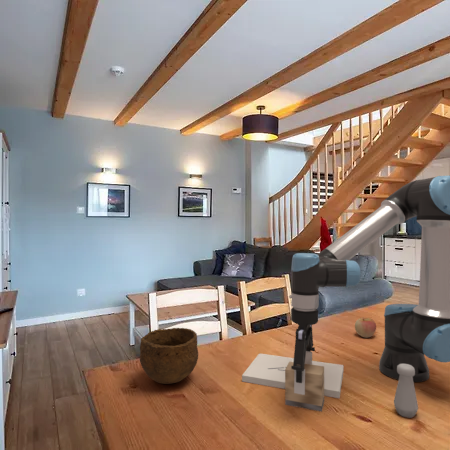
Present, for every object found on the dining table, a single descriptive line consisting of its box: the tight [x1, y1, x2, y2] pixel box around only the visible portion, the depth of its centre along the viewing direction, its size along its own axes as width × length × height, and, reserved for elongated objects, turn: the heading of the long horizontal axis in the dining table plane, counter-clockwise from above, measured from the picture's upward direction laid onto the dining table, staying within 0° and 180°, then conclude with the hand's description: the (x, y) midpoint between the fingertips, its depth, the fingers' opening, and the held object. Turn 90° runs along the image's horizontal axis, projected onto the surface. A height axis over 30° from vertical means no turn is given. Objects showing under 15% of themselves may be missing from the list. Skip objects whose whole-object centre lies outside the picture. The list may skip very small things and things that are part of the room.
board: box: [241, 353, 345, 399], centre depth 117 cm, size 30×20×2 cm, turn 68°
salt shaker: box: [393, 364, 419, 419], centre depth 94 cm, size 6×6×13 cm
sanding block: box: [284, 362, 325, 412], centre depth 100 cm, size 10×6×10 cm, turn 68°
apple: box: [354, 317, 377, 339], centre depth 156 cm, size 9×9×8 cm
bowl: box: [139, 327, 199, 385], centre depth 114 cm, size 19×19×15 cm
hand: (303, 382), depth 100 cm, fingers open, 13 cm apart
